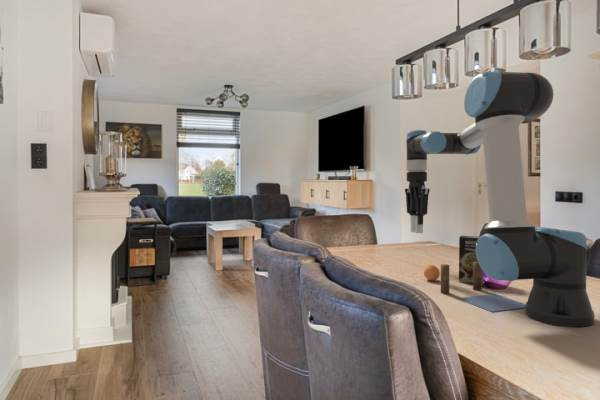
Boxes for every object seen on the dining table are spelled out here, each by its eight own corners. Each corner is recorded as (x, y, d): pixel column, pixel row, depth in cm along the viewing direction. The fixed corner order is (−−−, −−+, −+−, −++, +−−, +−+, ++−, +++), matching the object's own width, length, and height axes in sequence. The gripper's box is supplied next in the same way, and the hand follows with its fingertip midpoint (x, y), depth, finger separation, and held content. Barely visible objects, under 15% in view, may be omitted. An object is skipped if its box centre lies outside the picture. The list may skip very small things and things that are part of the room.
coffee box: (458, 281, 145) (458, 237, 145) (460, 278, 151) (460, 235, 150) (486, 284, 141) (486, 238, 140) (487, 280, 147) (487, 236, 146)
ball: (442, 281, 146) (442, 266, 146) (429, 282, 144) (429, 267, 144) (433, 278, 151) (433, 263, 151) (420, 279, 150) (420, 264, 149)
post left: (451, 293, 130) (451, 265, 129) (444, 294, 129) (444, 266, 129) (445, 291, 132) (445, 264, 132) (439, 292, 132) (439, 264, 131)
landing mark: (532, 307, 115) (532, 306, 115) (491, 312, 110) (491, 311, 110) (494, 294, 128) (494, 294, 128) (457, 298, 124) (457, 298, 124)
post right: (483, 290, 134) (483, 262, 133) (476, 290, 133) (476, 263, 132) (477, 288, 136) (477, 261, 136) (471, 288, 135) (471, 262, 135)
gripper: (437, 170, 149) (437, 234, 150) (413, 172, 164) (413, 230, 165) (420, 170, 147) (420, 235, 148) (397, 172, 162) (397, 230, 163)
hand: (416, 232), depth 156 cm, fingers open, 3 cm apart
